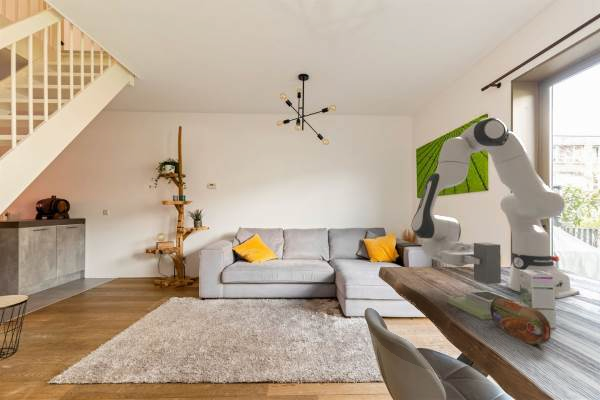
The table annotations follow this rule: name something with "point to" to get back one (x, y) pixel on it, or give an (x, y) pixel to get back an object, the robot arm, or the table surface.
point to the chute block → (487, 263)
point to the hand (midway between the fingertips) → (489, 261)
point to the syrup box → (538, 293)
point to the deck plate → (476, 303)
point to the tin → (520, 321)
